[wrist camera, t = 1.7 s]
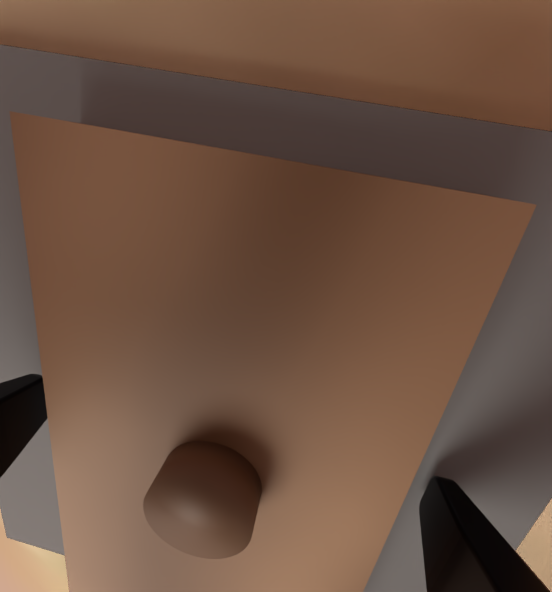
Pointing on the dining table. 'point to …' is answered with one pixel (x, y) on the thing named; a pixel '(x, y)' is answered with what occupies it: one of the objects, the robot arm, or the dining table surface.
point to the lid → (242, 352)
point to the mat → (340, 155)
